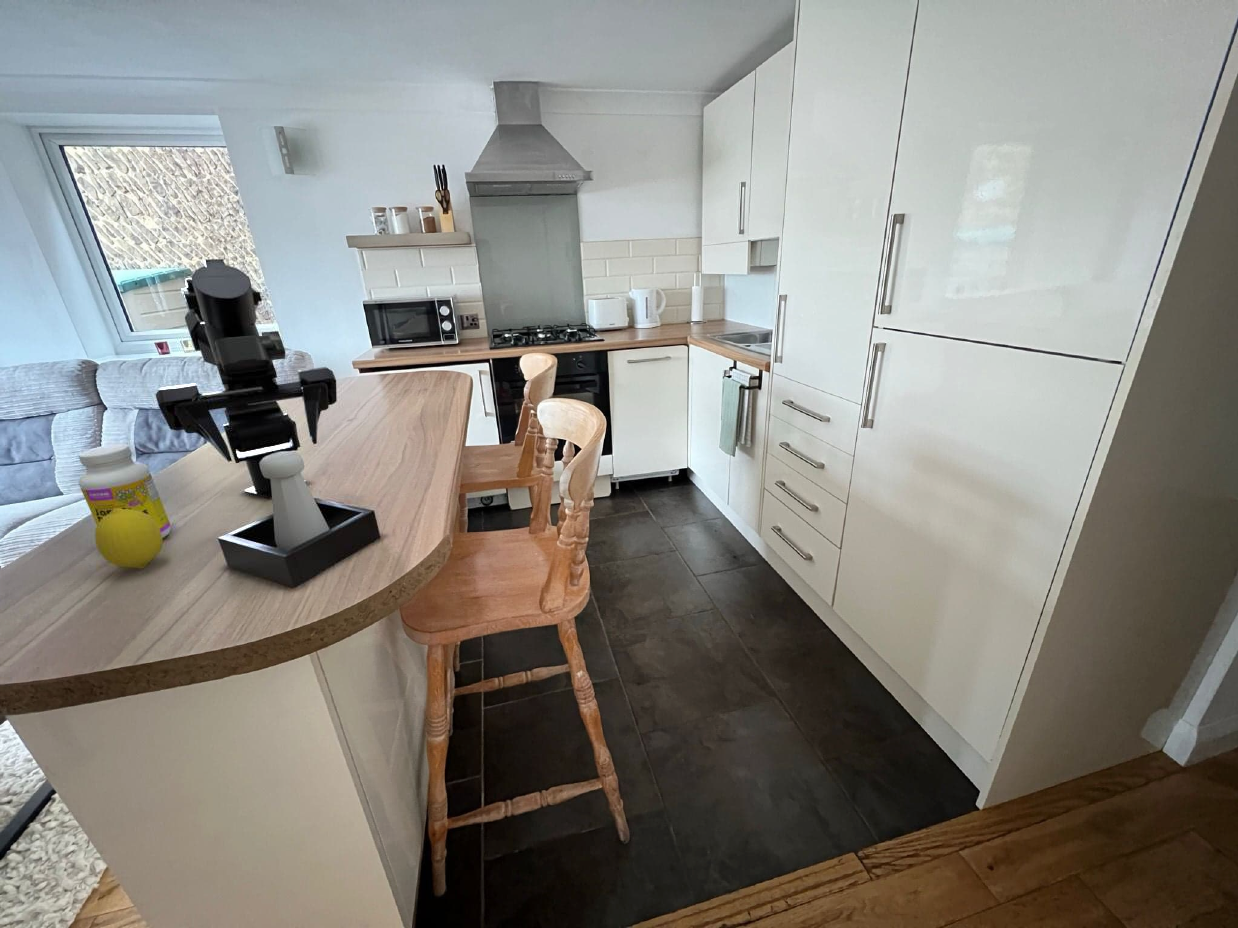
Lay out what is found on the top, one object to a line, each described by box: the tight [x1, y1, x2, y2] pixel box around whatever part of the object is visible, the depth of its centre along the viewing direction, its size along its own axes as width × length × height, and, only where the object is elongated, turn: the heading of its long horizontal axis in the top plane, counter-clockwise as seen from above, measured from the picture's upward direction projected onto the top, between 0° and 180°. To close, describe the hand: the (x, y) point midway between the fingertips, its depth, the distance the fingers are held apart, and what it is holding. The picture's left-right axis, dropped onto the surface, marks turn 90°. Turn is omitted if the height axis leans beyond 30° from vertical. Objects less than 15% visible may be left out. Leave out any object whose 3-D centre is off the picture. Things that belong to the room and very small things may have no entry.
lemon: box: [94, 508, 163, 570], centre depth 60 cm, size 6×6×8 cm
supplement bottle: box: [78, 443, 172, 539], centre depth 66 cm, size 7×7×13 cm
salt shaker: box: [260, 451, 329, 551], centre depth 61 cm, size 6×6×13 cm
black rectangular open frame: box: [217, 497, 381, 589], centre depth 63 cm, size 12×12×4 cm
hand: (274, 450), depth 64 cm, fingers open, 9 cm apart
